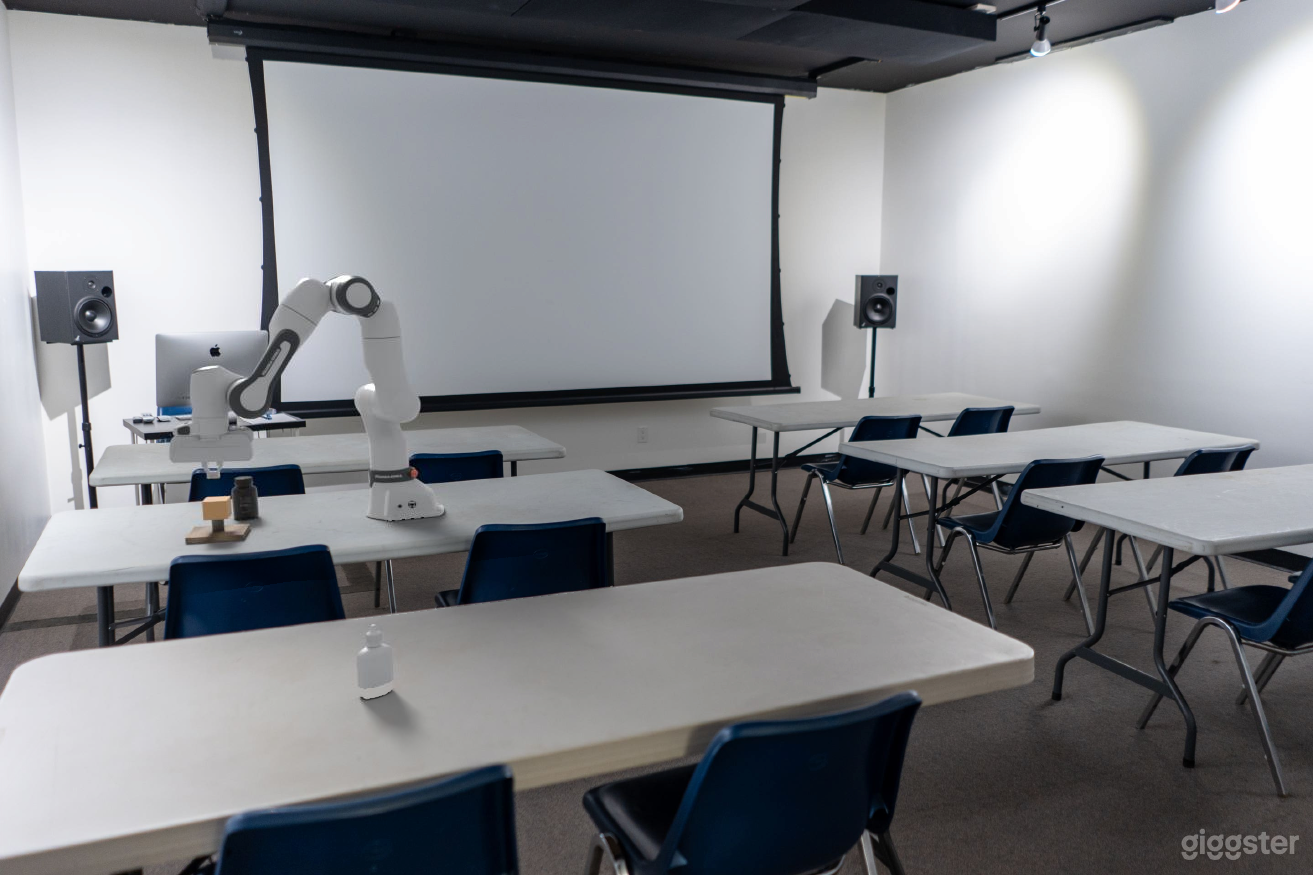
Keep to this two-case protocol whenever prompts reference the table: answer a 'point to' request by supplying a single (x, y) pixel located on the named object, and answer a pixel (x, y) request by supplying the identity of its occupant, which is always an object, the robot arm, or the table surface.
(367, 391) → the robot arm
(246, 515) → the supplement bottle
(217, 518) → the peach wooden cube
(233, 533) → the post board
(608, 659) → the table surface
